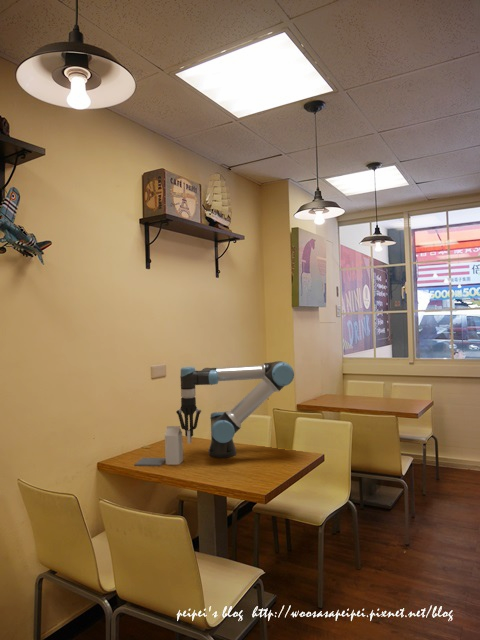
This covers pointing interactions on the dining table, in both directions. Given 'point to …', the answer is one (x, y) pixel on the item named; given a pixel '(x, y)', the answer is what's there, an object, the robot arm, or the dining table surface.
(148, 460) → the mat
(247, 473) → the dining table surface
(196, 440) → the dining table surface
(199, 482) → the dining table surface
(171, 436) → the milk carton
